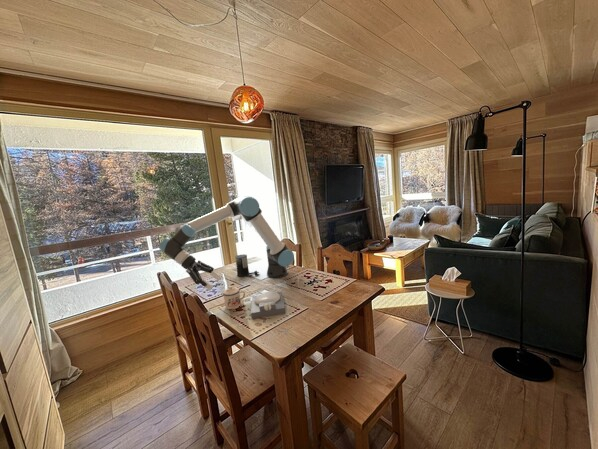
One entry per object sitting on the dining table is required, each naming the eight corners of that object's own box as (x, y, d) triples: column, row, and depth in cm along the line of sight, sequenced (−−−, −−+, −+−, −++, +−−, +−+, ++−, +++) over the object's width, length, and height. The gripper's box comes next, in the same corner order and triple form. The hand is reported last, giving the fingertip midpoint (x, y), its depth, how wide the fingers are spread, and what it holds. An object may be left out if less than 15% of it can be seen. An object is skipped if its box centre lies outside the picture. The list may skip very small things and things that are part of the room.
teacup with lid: (227, 311, 136) (224, 291, 134) (223, 305, 144) (220, 286, 142) (248, 304, 142) (246, 285, 140) (243, 299, 150) (241, 280, 148)
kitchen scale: (253, 301, 146) (251, 290, 145) (282, 296, 148) (281, 286, 147) (251, 318, 127) (250, 307, 126) (285, 313, 129) (284, 301, 128)
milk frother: (236, 273, 196) (234, 255, 194) (257, 270, 201) (254, 252, 198) (238, 280, 183) (235, 260, 180) (259, 275, 187) (257, 256, 185)
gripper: (191, 258, 152) (219, 280, 154) (169, 272, 128) (203, 298, 129) (199, 249, 151) (227, 271, 153) (178, 261, 127) (211, 288, 128)
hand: (216, 283), depth 141 cm, fingers open, 13 cm apart
